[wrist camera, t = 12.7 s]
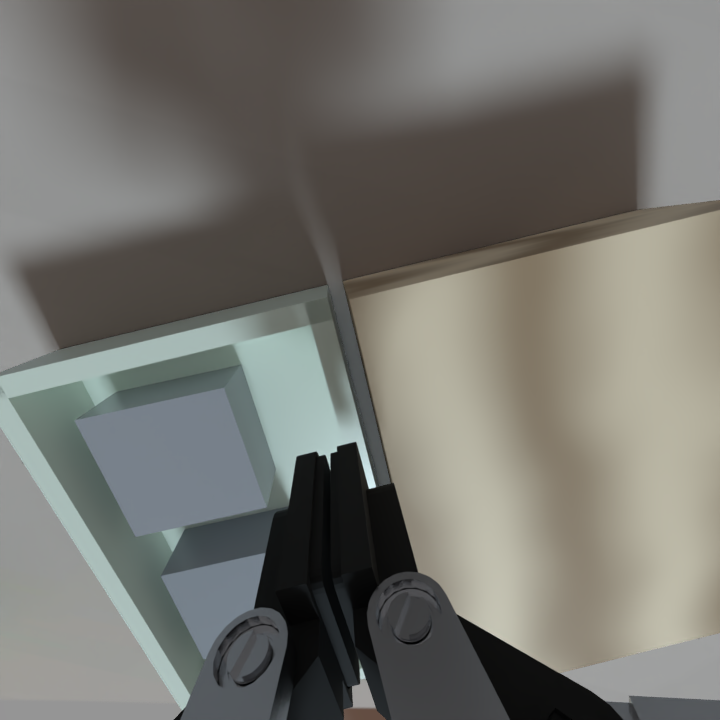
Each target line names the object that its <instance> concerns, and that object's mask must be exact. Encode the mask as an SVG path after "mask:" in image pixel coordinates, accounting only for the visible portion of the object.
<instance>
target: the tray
mask: <svg viewBox="0 0 720 720" xmlns="http://www.w3.org/2000/svg"><path fill="white" fill-rule="evenodd" d="M236 365H242V368H243V371H244V374H245V377H246V380H247V383H248V386H249V389H250V392H251V395H252V398H253V401H254V404H255V407H256V410H257V413H258V416H259V419H260V422H261V425H262V428H263V431H264V434H265V437H266V440H267V443H268V446H269V449H270V452H271V455H272V458H273V461H274V464H275V467H276V472H275V476H274V480H273V484H272V488H271V492H270V496H269V501H268V505H267V508H263V509H258V510H254V511H250V512H245V513H241V514H236V515H232V516H227V517H223V518H218V519H214V520H209V521H205V522H200V523H196V524H192V525H187V526H183V527H178V528H174V529H169V530H165V531H160V532H156V533H151V534H147V535H142V536H138V537H135V535H134V533H133V531H132V529H131V527H130V525H129V523H128V522H127V520H126V518H125V516H124V514H123V512H122V510H121V508H120V506H119V504H118V503H117V501H116V499H115V497H114V495H113V493H112V491H111V489H110V487H109V485H108V484H107V482H106V480H105V478H104V476H103V474H102V472H101V470H100V468H99V466H98V465H97V463H96V461H95V459H94V457H93V455H92V453H91V451H90V449H89V447H88V446H87V444H86V442H85V440H84V438H83V436H82V434H81V432H80V430H79V428H78V427H77V425H76V423H75V421H74V420H76V419H77V418H79V417H80V416H82V415H83V414H84V413H86V412H87V411H89V410H90V409H92V408H93V407H95V406H96V405H98V404H99V403H101V402H102V401H103V400H105V399H106V398H108V397H109V396H111V395H112V394H114V393H115V392H117V391H122V390H126V389H131V388H135V387H140V386H144V385H149V384H154V383H158V382H163V381H167V380H172V379H177V378H181V377H186V376H190V375H195V374H200V373H204V372H209V371H213V370H218V369H223V368H227V367H232V366H236ZM0 427H1V429H2V430H3V432H4V434H5V435H6V437H7V438H8V440H9V441H10V443H11V445H12V446H13V448H14V449H15V451H16V452H17V454H18V455H19V457H20V459H21V460H22V462H23V463H24V465H25V466H26V468H27V470H28V471H29V473H30V474H31V476H32V477H33V479H34V480H35V482H36V484H37V485H38V487H39V488H40V490H41V491H42V493H43V494H44V496H45V498H46V499H47V501H48V502H49V504H50V505H51V507H52V509H53V510H54V512H55V513H56V515H57V516H58V518H59V519H60V521H61V523H62V524H63V526H64V527H65V529H66V530H67V532H68V534H69V535H70V537H71V538H72V540H73V541H74V543H75V544H76V546H77V548H78V549H79V551H80V552H81V554H82V555H83V557H84V558H85V560H86V562H87V563H88V565H89V566H90V568H91V569H92V571H93V573H94V574H95V576H96V577H97V579H98V580H99V582H100V583H101V585H102V587H103V588H104V590H105V591H106V593H107V594H108V596H109V598H110V599H111V601H112V602H113V604H114V605H115V607H116V608H117V610H118V612H119V613H120V615H121V616H122V618H123V619H124V621H125V622H126V624H127V626H128V627H129V629H130V630H131V632H132V633H133V635H134V637H135V638H136V640H137V641H138V643H139V644H140V646H141V647H142V649H143V651H144V652H145V654H146V655H147V657H148V658H149V660H150V662H151V663H152V665H153V666H154V668H155V669H156V671H157V672H158V674H159V676H160V677H161V679H162V680H163V682H164V683H165V685H166V686H167V688H168V690H169V691H170V693H171V694H172V696H173V697H174V699H175V701H176V702H177V704H178V705H179V707H180V708H181V710H183V709H184V708H185V707H186V705H187V703H188V700H189V698H190V695H191V693H192V691H193V688H194V686H195V683H196V681H197V679H198V676H199V674H200V671H201V669H202V667H203V664H204V662H205V659H203V657H202V655H201V653H200V651H199V650H198V648H197V646H196V644H195V642H194V640H193V638H192V636H191V634H190V632H189V630H188V628H187V626H186V624H185V622H184V620H183V619H182V617H181V615H180V613H179V611H178V609H177V607H176V605H175V603H174V601H173V599H172V597H171V595H170V593H169V591H168V589H167V588H166V586H165V584H164V582H163V580H162V578H161V574H162V573H163V571H164V569H165V567H166V565H167V563H168V561H169V559H170V557H171V555H172V553H173V551H174V549H175V547H176V545H177V543H178V541H179V539H180V537H181V535H182V533H183V532H184V530H185V529H188V528H193V527H197V526H202V525H206V524H211V523H215V522H220V521H224V520H229V519H233V518H238V517H242V516H247V515H251V514H256V513H260V512H265V511H269V510H274V509H279V508H283V507H288V506H289V500H290V494H291V488H292V481H293V475H294V469H295V462H296V457H297V456H299V455H303V454H307V453H311V452H316V451H317V453H318V455H319V456H321V455H326V458H327V461H328V464H329V467H330V454H331V453H334V452H337V446H340V445H344V444H348V443H352V442H356V443H357V446H358V450H359V453H360V457H361V461H362V465H363V468H364V472H365V476H366V480H367V483H368V487H369V489H371V488H375V487H379V484H378V481H377V477H376V473H375V469H374V465H373V461H372V457H371V453H370V449H369V445H368V441H367V437H366V433H365V429H364V425H363V421H362V418H361V414H360V410H359V406H358V402H357V398H356V394H355V390H354V386H353V382H352V378H351V374H350V370H349V366H348V362H347V358H346V355H345V351H344V347H343V343H342V339H341V335H340V331H339V327H338V323H337V319H336V315H335V311H334V307H333V303H332V299H331V295H330V292H329V288H328V285H324V286H320V287H316V288H312V289H308V290H304V291H300V292H295V293H291V294H287V295H283V296H279V297H275V298H271V299H267V300H262V301H258V302H254V303H250V304H246V305H242V306H238V307H233V308H229V309H225V310H221V311H217V312H213V313H209V314H204V315H200V316H196V317H192V318H188V319H184V320H180V321H176V322H171V323H167V324H163V325H159V326H155V327H151V328H147V329H142V330H138V331H134V332H130V333H126V334H122V335H118V336H113V337H109V338H105V339H101V340H97V341H93V342H89V343H85V344H80V345H76V346H72V347H68V348H64V349H60V350H57V351H54V352H52V353H49V354H46V355H44V356H41V357H39V358H36V359H33V360H31V361H28V362H26V363H23V364H20V365H18V366H15V367H12V368H10V369H7V370H5V371H2V372H0ZM359 668H360V679H364V678H365V675H364V672H363V669H362V666H361V663H360V660H359Z"/></svg>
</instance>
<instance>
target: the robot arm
mask: <svg viewBox="0 0 720 720" xmlns="http://www.w3.org/2000/svg"><path fill="white" fill-rule="evenodd" d="M359 660H360V663H361V666H362V669H363V672H364V675H365V678H366V680H367V683H368V686H369V688H370V691H371V694H372V697H373V700H374V703H375V706H376V709H377V711H378V712H379V713H380V714H381V715H382V716H383V717H385V719H387V720H720V700H701V699H682V698H662V697H643V696H629V703H623V702H605V701H604V700H602V699H601V698H600V697H598V696H597V695H596V694H594V693H593V692H591V691H590V690H588V689H586V688H584V687H583V686H581V685H579V684H577V683H576V682H574V681H572V680H570V679H569V678H567V677H565V676H564V675H562V674H560V673H558V672H557V671H555V670H553V669H551V668H550V667H548V666H546V665H544V664H543V663H541V662H539V661H537V660H536V659H534V658H532V657H530V656H529V655H527V654H525V653H524V652H522V651H520V650H518V649H517V648H515V647H513V646H511V645H510V644H508V643H506V642H504V641H503V640H501V639H499V638H497V637H496V636H494V635H492V634H491V633H489V632H487V631H485V630H484V629H482V628H480V627H478V626H477V625H475V624H473V623H471V622H470V621H468V620H466V619H464V618H463V617H461V616H459V615H458V614H456V612H455V610H454V608H453V606H452V605H451V603H450V601H449V599H448V597H447V595H446V593H445V592H444V590H443V589H442V587H441V586H440V585H439V583H437V582H436V581H435V580H433V579H432V578H431V577H429V576H427V575H424V574H421V573H419V572H418V569H417V566H416V562H415V558H414V555H413V551H412V547H411V544H410V540H409V536H408V532H407V529H406V525H405V521H404V518H403V514H402V510H401V507H400V503H399V499H398V496H397V492H396V488H395V485H394V483H391V484H387V485H383V486H379V487H375V488H371V489H369V487H368V483H367V480H366V476H365V472H364V468H363V465H362V461H361V457H360V453H359V450H358V446H357V443H356V442H352V443H348V444H344V445H340V446H337V452H334V453H331V454H330V467H329V464H328V461H327V458H326V455H321V456H319V455H318V453H317V451H316V452H311V453H307V454H303V455H299V456H297V457H296V462H295V469H294V475H293V481H292V488H291V494H290V500H289V506H288V509H285V510H281V511H277V512H276V513H275V514H274V516H273V520H272V524H271V529H270V534H269V539H268V543H267V548H266V553H265V558H264V563H263V567H262V572H261V577H260V582H259V586H258V591H257V596H256V601H255V606H254V609H253V610H249V611H247V612H245V613H243V614H242V615H240V616H238V617H236V618H235V619H234V620H233V621H232V622H231V623H229V624H228V625H227V626H226V627H225V628H224V629H223V631H222V632H221V633H220V634H219V636H218V637H217V638H216V639H215V641H214V643H213V645H212V647H211V649H210V651H209V652H208V655H207V657H206V659H205V662H204V664H203V667H202V669H201V671H200V674H199V676H198V679H197V681H196V683H195V686H194V688H193V691H192V693H191V695H190V698H189V700H188V703H187V705H186V707H185V708H184V709H183V710H182V712H181V713H180V714H179V715H178V716H177V717H176V718H175V719H174V720H344V712H343V709H346V708H350V707H353V701H352V686H355V685H359V684H360V668H359Z"/></svg>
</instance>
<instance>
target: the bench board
mask: <svg viewBox="0 0 720 720" xmlns="http://www.w3.org/2000/svg"><path fill="white" fill-rule="evenodd" d="M343 285H344V289H345V293H346V297H347V302H348V306H349V310H350V314H351V318H352V322H353V327H354V331H355V335H356V339H357V343H358V347H359V352H360V356H361V360H362V364H363V368H364V372H365V377H366V381H367V385H368V389H369V393H370V398H371V402H372V406H373V410H374V414H375V418H376V423H377V427H378V431H379V435H380V439H381V443H382V448H383V452H384V456H385V460H386V464H387V469H388V473H389V477H390V481H391V483H394V485H395V488H396V492H397V496H398V499H399V503H400V507H401V510H402V514H403V518H404V521H405V525H406V529H407V532H408V536H409V540H410V544H411V547H412V551H413V555H414V558H415V562H416V566H417V569H418V572H419V573H421V574H424V575H427V576H429V577H431V578H432V579H433V580H435V581H436V582H437V583H439V585H440V586H441V587H442V589H443V590H444V592H445V593H446V595H447V597H448V599H449V601H450V603H451V605H452V606H453V608H454V610H455V612H456V614H458V615H459V616H461V617H463V618H464V619H466V620H468V621H470V622H471V623H473V624H475V625H477V626H478V627H480V628H482V629H484V630H485V631H487V632H489V633H491V634H492V635H494V636H496V637H497V638H499V639H501V640H503V641H504V642H506V643H508V644H510V645H511V646H513V647H515V648H517V649H518V650H520V651H522V652H524V653H525V654H527V655H529V656H530V657H532V658H534V659H536V660H537V661H539V662H541V663H543V664H544V665H546V666H548V667H550V668H551V669H553V670H555V671H557V672H558V673H562V672H566V671H570V670H574V669H578V668H582V667H586V666H590V665H594V664H598V663H602V662H606V661H610V660H614V659H618V658H622V657H626V656H630V655H634V654H638V653H642V652H646V651H650V650H654V649H658V648H662V647H666V646H670V645H674V644H678V643H682V642H686V641H690V640H694V639H698V638H702V637H706V636H710V635H714V634H718V633H720V200H717V201H708V202H700V203H691V204H682V205H674V206H665V207H657V208H648V209H640V210H635V211H631V212H626V213H622V214H618V215H614V216H610V217H606V218H602V219H597V220H593V221H589V222H585V223H581V224H577V225H573V226H568V227H564V228H560V229H556V230H552V231H548V232H544V233H540V234H535V235H531V236H527V237H523V238H519V239H515V240H511V241H506V242H502V243H498V244H494V245H490V246H486V247H482V248H477V249H473V250H469V251H465V252H461V253H457V254H453V255H449V256H444V257H440V258H436V259H432V260H428V261H424V262H420V263H415V264H411V265H407V266H403V267H399V268H395V269H391V270H386V271H382V272H378V273H374V274H370V275H366V276H362V277H358V278H353V279H349V280H345V281H343Z"/></svg>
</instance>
